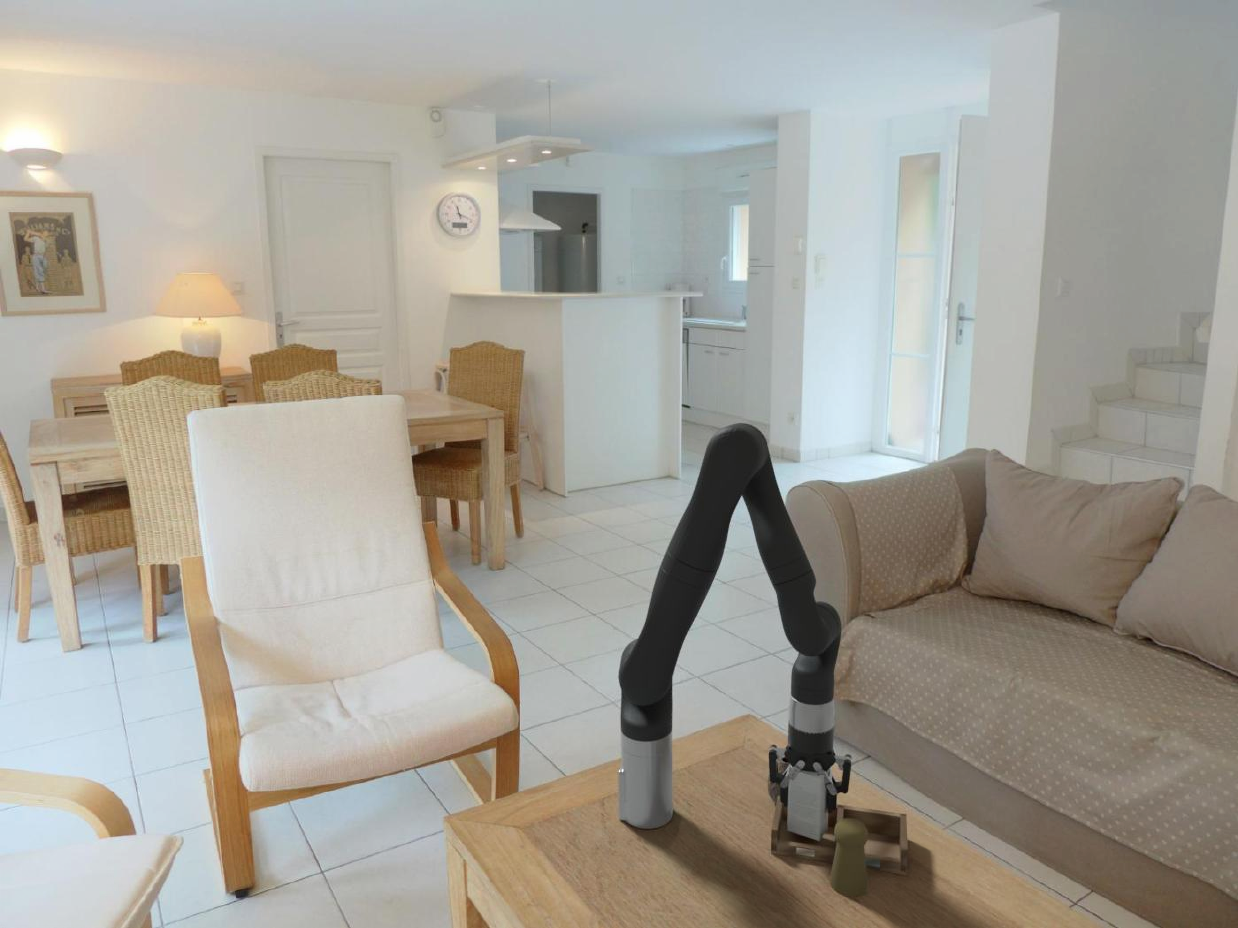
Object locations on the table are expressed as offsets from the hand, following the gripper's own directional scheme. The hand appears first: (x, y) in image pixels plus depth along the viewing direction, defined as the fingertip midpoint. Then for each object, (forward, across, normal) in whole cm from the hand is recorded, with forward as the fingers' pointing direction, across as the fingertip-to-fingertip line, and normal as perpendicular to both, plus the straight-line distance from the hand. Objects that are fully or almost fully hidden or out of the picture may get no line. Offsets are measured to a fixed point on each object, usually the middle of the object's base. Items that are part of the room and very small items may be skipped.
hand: (808, 807), depth 155 cm
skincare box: (+5, 0, 0) cm, 5 cm away
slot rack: (+6, +5, 0) cm, 8 cm away
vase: (+7, -5, +10) cm, 13 cm away
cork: (+7, +7, -10) cm, 14 cm away
